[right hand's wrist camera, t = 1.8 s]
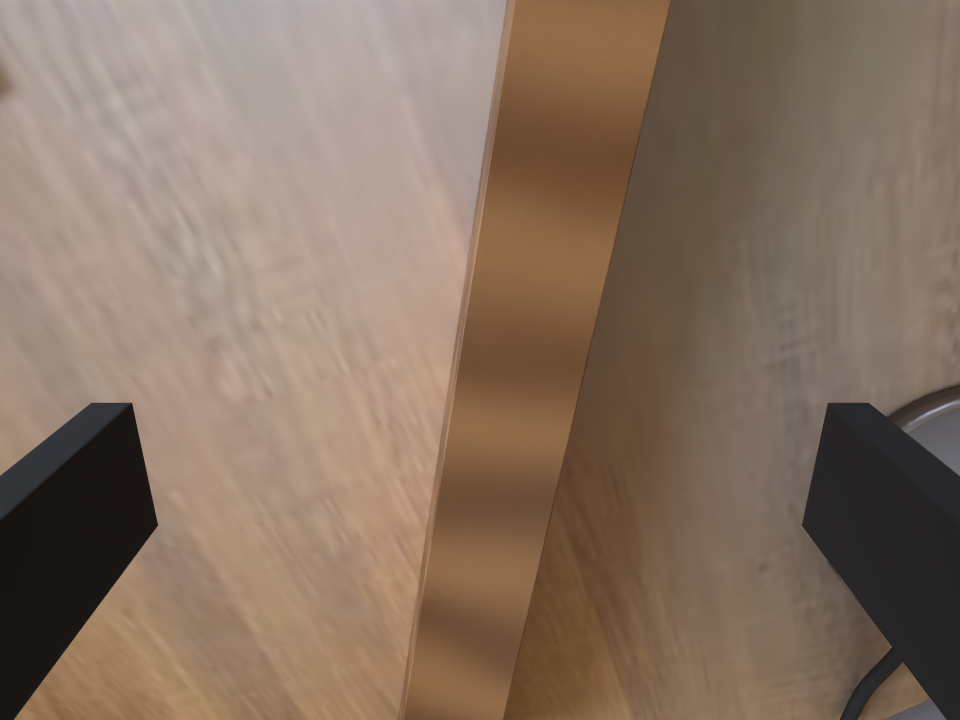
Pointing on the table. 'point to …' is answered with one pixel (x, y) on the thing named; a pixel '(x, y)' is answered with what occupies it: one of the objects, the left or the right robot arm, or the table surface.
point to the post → (525, 333)
